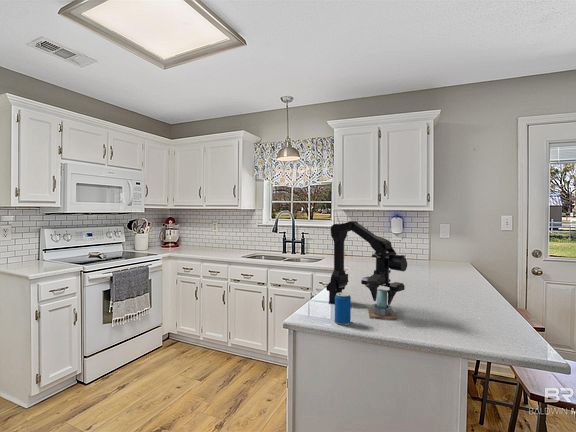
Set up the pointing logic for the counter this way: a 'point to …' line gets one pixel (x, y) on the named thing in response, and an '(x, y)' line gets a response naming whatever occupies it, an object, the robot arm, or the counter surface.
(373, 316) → the base board
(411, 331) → the counter surface
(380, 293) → the peg
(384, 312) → the collar
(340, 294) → the beverage can
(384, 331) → the counter surface
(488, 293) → the counter surface
